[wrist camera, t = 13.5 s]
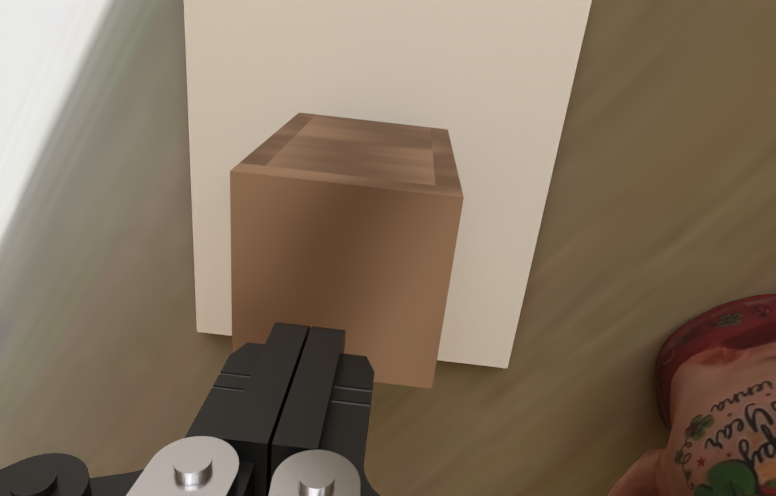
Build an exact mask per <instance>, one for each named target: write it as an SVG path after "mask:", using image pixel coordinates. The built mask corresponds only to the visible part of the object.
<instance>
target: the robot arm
mask: <svg viewBox="0 0 776 496" xmlns="http://www.w3.org/2000/svg"><path fill="white" fill-rule="evenodd" d="M345 336H346V331H345V330H341V329H332V328H324V327H315V326H312V327H311V329H310V326H305V325H297V324H288V323H280V322H276V323H275V324H274V326H273V328H272V330H271V332H270V335H269V337H268V339H267V341H266V343H265V344H258V343H249V342H247V343H246V344H244V345H243V346H242V347H240V348H239V349H238V350H236V351H235V352H234V353H232V354H231V355H230V356H229V358H228V360H227V361H226V363H225V365H224V367H223V369H222V371H221V374H220V375H219V376H218V378H217V380H216V382H215V383H214V385H213V389H211V391H210V393H209V394H208V396H207V398H206V400H205V402H204V403H203V405H202V407H201V409H200V411H199V413H198V414H197V416H196V418H195V420H194V422H193V424H192V425H191V427H190V429H189V431H188V433H187V435H186V436H185V438H184V439H181V440H178V441H175V442H173V443H171V444H169V445H167V446H166V447H164V448H163V449H161V450H160V451H159V452H158V453H157V454H156V455H155V456H154V457H153V458H152V459H151V461H150V462H149V464H148V465H147V466H146V468H145V469H143V470H139V471H136V472H131V473H125V474H118V475H111V476H104V477H96V478H89V472H88V468H87V467H86V465H85V463H83V462H82V461H81V460H80V459H78V458H77V457H74V456H72V455H68V454H62V453H50V454H42V455H37V456H33V457H30V458H26V459H24V460H21V461H19V462H17V463H14V464H12V465H10V466H8V467H6V468H3V469H1V470H0V496H380V495H379V494H378V493H376V492H375V491H374V489H373V488H372V487H371V486H370V484H369V482H368V481H367V478H366V476H365V473H364V457H365V449H366V441H367V432H368V424H369V415H370V406H371V398H372V389H373V380H374V370H373V368H372V366H371V364H370V362H369V360H368V358H367V356H361V355H352V354H344V348H345Z"/></svg>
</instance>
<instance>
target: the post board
mask: <svg viewBox="0 0 776 496" xmlns="http://www.w3.org/2000/svg"><path fill="white" fill-rule="evenodd" d="M591 2H592V0H184V19H185V44H186V69H187V94H188V120H189V145H190V170H191V196H192V221H193V246H194V271H195V297H196V322H197V332H203V333H211V334H220V335H228V336H232V301H231V215H230V170H232V169H233V168H234V167H235V166H236V165H237V164H239V163H240V162H241V161H242V160H243V159H245V158H246V157H247V156H248V155H249V154H250V153H252V152H253V151H254V150H255V149H256V148H258V147H259V146H260V145H261V144H262V143H263V142H265V141H266V140H267V139H268V138H269V137H271V136H272V135H273V134H274V133H275V132H277V131H278V130H279V129H280V128H281V127H282V126H284V125H285V124H286V123H287V122H288V121H290V120H291V119H292V118H293V117H294V116H295V115H297V114H298V113H308V114H317V115H326V116H334V117H343V118H352V119H361V120H370V121H378V122H387V123H396V124H405V125H414V126H422V127H431V128H440V129H448V133H449V137H450V141H451V146H452V150H453V154H454V158H455V163H456V167H457V171H458V175H459V180H460V184H461V188H462V193H463V197H464V199H463V205H462V211H461V217H460V223H459V229H458V235H457V241H456V247H455V253H454V259H453V266H452V272H451V278H450V284H449V290H448V296H447V302H446V308H445V314H444V320H443V326H442V332H441V338H440V344H439V350H438V356H437V360H440V361H449V362H457V363H465V364H474V365H482V366H491V367H499V368H508V364H509V359H510V355H511V351H512V346H513V342H514V338H515V333H516V329H517V325H518V320H519V316H520V311H521V307H522V303H523V298H524V294H525V290H526V285H527V281H528V277H529V272H530V268H531V263H532V259H533V255H534V250H535V246H536V242H537V237H538V233H539V229H540V224H541V220H542V215H543V211H544V207H545V202H546V198H547V194H548V189H549V185H550V181H551V176H552V172H553V167H554V163H555V159H556V154H557V150H558V146H559V141H560V137H561V133H562V128H563V124H564V120H565V115H566V111H567V106H568V102H569V98H570V93H571V89H572V85H573V80H574V76H575V72H576V67H577V63H578V58H579V54H580V50H581V45H582V41H583V37H584V32H585V28H586V24H587V19H588V15H589V10H590V6H591Z"/></svg>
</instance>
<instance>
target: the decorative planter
mask: <svg viewBox="0 0 776 496" xmlns="http://www.w3.org/2000/svg"><path fill="white" fill-rule="evenodd" d="M656 378H657V405H658V410H659V413H660V417H661V419H662V420H663V422H664V424H665V426H666V427H667V428H668V429H669V430H670V431H671V434H670V437H669V441H668V444H667V447H666V448H665V449H649V450H647V451H646V452H645V453H644V454H642V455H641V456H640V457H639V459H638V460H637V461H636V462H635V463H634V464H633V465H632V466H631V467H630V468H629V469H628V470H627V471H626V472H625V473H624V474H623V475H622V476H621V477H620V479H619V480H618V481H617V482H616V483H615V484H614V485H613V486H612V487H611V489H610V490H609V492H608V494H607V495H606V496H776V294H767V295H758V296H753V297H748V298H744V299H740V300H737V301H733V302H730V303H727V304H724V305H721V306H718V307H716V308H714V309H712V310H710V311H708V312H706V313H704V314H702V315H700V316H699V317H697V318H695V319H693V320H692V321H690V322H688V323H687V324H685V325H684V326H682V327H681V328H679V329H678V330H677V331H676V332H674V333H673V334H672V335H671V336H670V337H669V338H668V339H667V341H666V342H665V344H664V345H663V347H662V349H661V351H660V353H659V356H658V360H657V366H656Z"/></svg>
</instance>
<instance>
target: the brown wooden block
mask: <svg viewBox="0 0 776 496" xmlns="http://www.w3.org/2000/svg"><path fill="white" fill-rule="evenodd" d="M463 199H464V197H463V193H462V188H461V184H460V180H459V175H458V171H457V167H456V163H455V158H454V154H453V150H452V146H451V141H450V137H449V133H448V129H440V128H431V127H422V126H414V125H405V124H396V123H387V122H378V121H370V120H361V119H352V118H343V117H334V116H326V115H317V114H308V113H298V114H297V115H295V116H294V117H293V118H292V119H291V120H290V121H288V122H287V123H286V124H285V125H284V126H282V127H281V128H280V129H279V130H278V131H277V132H275V133H274V134H273V135H272V136H271V137H269V138H268V139H267V140H266V141H265V142H263V143H262V144H261V145H260V146H259V147H258V148H256V149H255V150H254V151H253V152H252V153H250V154H249V155H248V156H247V157H246V158H245V159H243V160H242V161H241V162H240V163H239V164H237V165H236V166H235V167H234V168H233V169H232V170H230V215H231V301H232V353H234V352H235V351H236V350H238V349H239V348H240V347H242V346H243V345H244V344H246V343H247V342H249V343H258V344H265V343H266V341H267V339H268V337H269V335H270V332H271V330H272V328H273V326H274V324H275V323H276V322H280V323H288V324H297V325H305V326H310V329H311V327H312V326H315V327H324V328H332V329H341V330H345V331H346V336H345V348H344V354H352V355H361V356H367V358H368V360H369V362H370V364H371V366H372V368H373V370H374V380H373V382H378V383H387V384H395V385H404V386H412V387H421V388H429V389H432V387H433V381H434V375H435V369H436V362H437V356H438V350H439V344H440V338H441V332H442V326H443V320H444V314H445V308H446V302H447V296H448V290H449V284H450V278H451V272H452V266H453V259H454V253H455V247H456V241H457V235H458V229H459V223H460V217H461V211H462V205H463Z"/></svg>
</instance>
